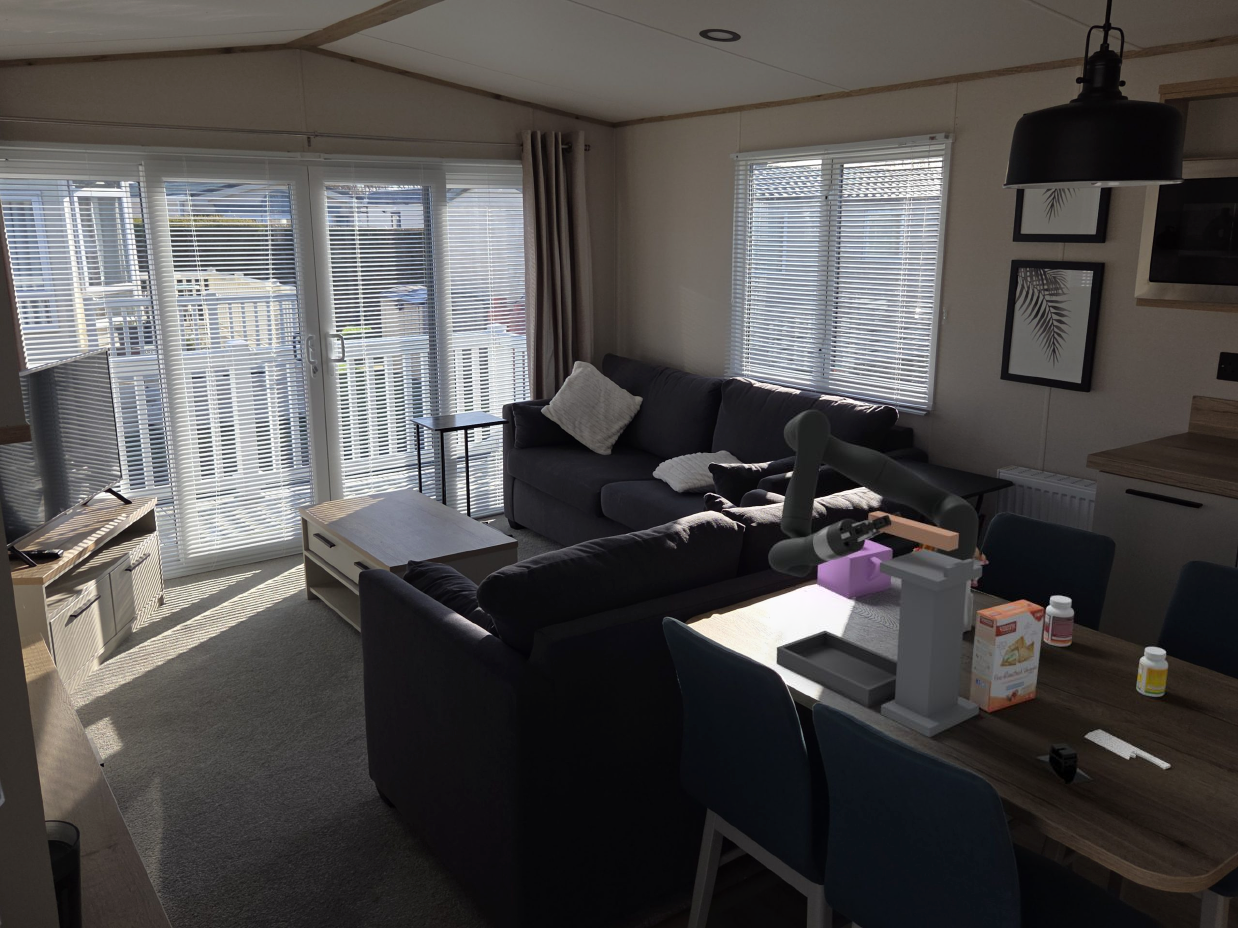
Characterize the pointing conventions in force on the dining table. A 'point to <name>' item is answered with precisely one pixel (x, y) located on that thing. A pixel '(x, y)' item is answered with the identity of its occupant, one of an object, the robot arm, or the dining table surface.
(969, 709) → the stand
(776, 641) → the dining table surface
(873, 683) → the tray
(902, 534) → the bar
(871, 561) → the teapot
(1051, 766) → the black knife sharpener
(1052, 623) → the pill bottle
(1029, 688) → the cracker box
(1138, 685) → the supplement bottle
